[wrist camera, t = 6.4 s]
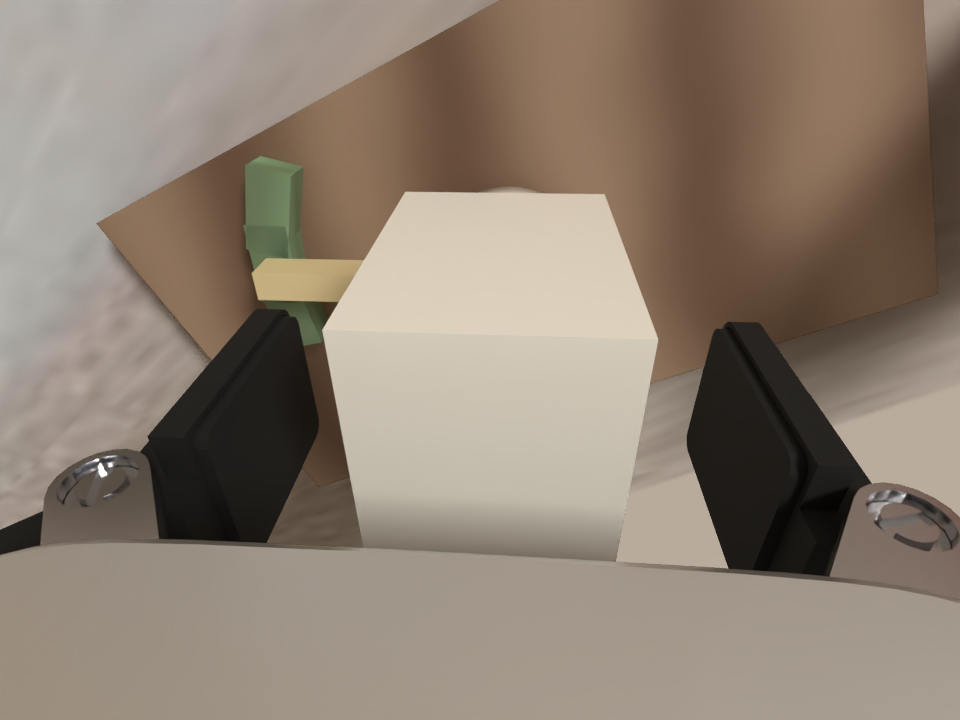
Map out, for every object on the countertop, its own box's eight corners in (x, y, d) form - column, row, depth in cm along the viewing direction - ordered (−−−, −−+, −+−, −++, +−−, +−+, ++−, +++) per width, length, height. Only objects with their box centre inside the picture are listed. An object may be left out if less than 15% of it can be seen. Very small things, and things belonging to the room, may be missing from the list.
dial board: (872, -206, 12) (943, -246, 10) (909, 272, 18) (959, 310, 16) (125, 207, 18) (74, 235, 16) (329, 461, 24) (310, 505, 22)
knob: (597, 132, 14) (697, 340, 6) (574, 366, 18) (613, 692, 10) (254, 130, 15) (-106, 318, 6) (303, 357, 19) (120, 659, 10)
